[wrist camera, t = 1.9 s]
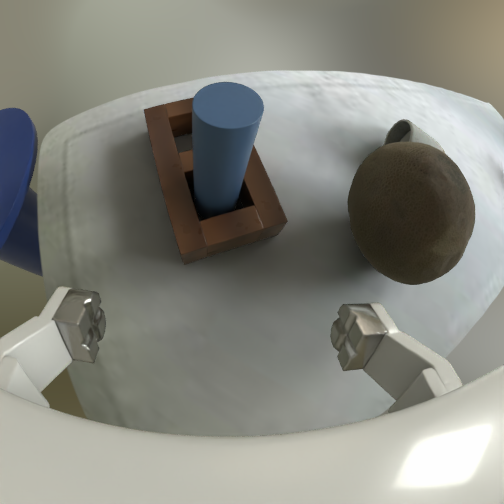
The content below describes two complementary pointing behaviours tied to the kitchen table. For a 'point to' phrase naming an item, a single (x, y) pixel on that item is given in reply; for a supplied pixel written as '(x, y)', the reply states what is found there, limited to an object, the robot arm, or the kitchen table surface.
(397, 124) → the ceramic mug
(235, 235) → the peg block
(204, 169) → the peg
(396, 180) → the cantaloupe
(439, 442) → the robot arm
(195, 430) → the kitchen table surface
